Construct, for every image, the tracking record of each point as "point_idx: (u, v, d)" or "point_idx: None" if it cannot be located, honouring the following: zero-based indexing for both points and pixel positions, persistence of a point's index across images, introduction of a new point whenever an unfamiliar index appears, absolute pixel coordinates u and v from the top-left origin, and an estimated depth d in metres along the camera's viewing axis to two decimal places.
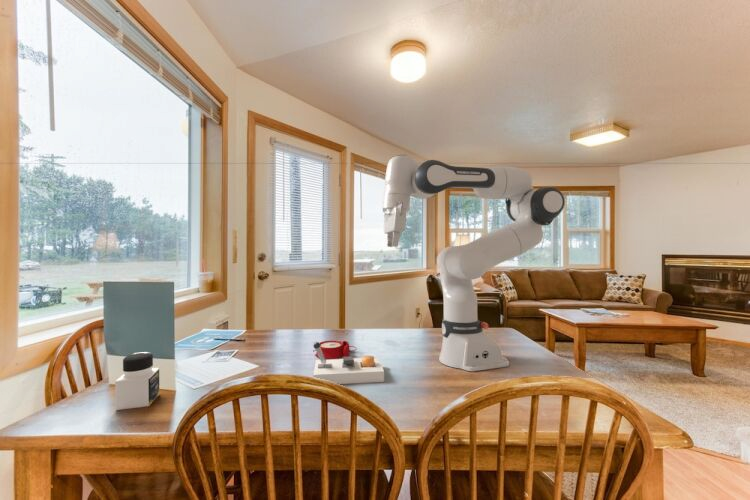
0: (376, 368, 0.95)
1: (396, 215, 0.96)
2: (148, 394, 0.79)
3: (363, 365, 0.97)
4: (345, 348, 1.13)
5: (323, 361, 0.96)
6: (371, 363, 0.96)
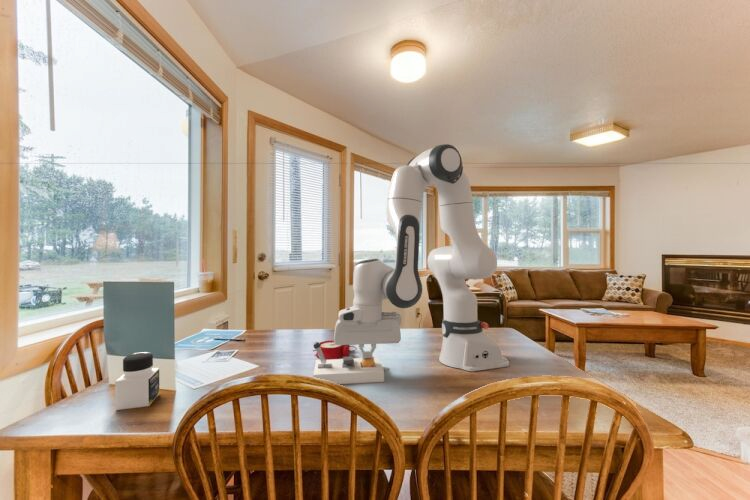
0: (376, 368, 0.95)
1: (399, 328, 0.98)
2: (148, 394, 0.79)
3: (363, 365, 0.97)
4: (345, 348, 1.13)
5: (323, 361, 0.96)
6: (371, 363, 0.96)
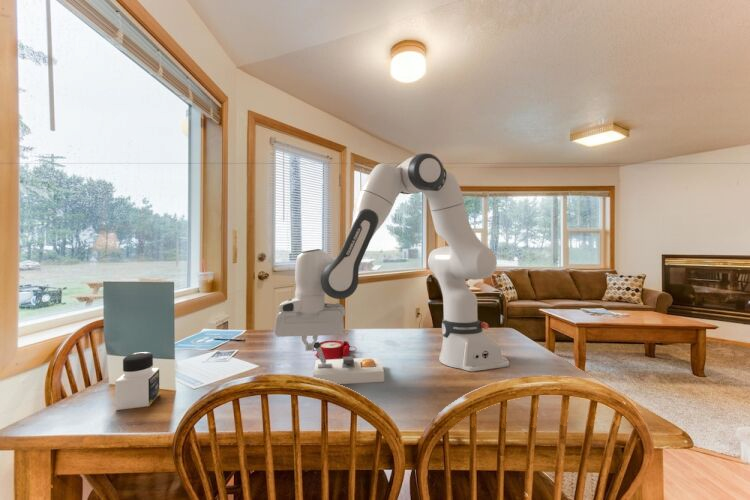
0: (376, 368, 0.95)
1: (342, 319, 0.96)
2: (148, 394, 0.79)
3: None
4: (345, 348, 1.13)
5: (323, 361, 0.96)
6: (371, 366, 0.96)
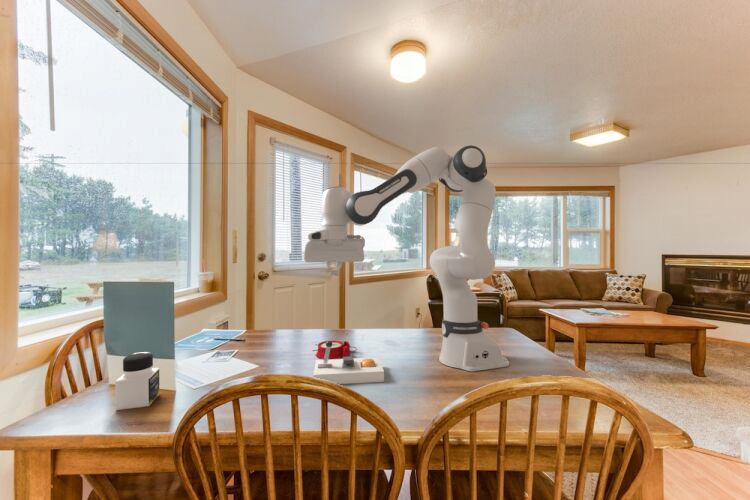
0: (376, 368, 0.95)
1: None
2: (148, 394, 0.79)
3: None
4: (345, 348, 1.12)
5: (326, 361, 0.96)
6: (371, 366, 0.96)
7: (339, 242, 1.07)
